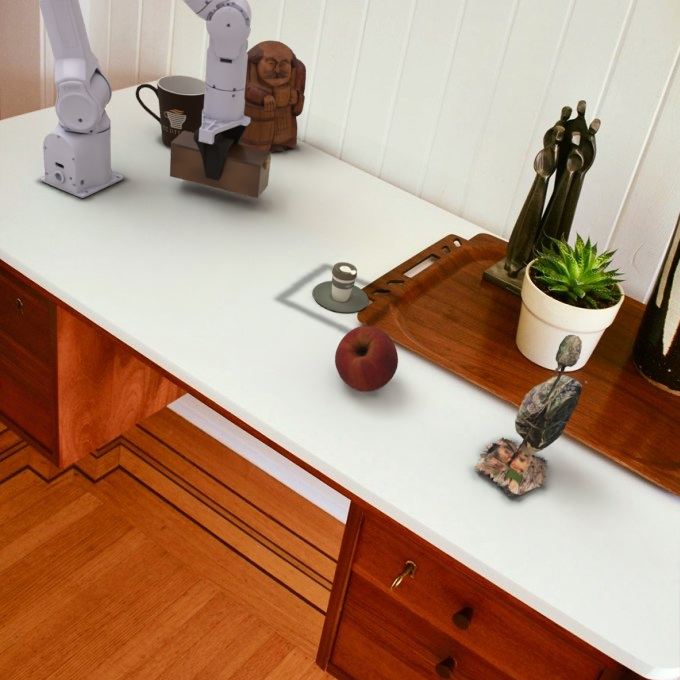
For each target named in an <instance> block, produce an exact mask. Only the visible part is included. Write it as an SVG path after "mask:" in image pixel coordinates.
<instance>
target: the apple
mask: <svg viewBox="0 0 680 680" xmlns="http://www.w3.org/2000/svg"><path fill="white" fill-rule="evenodd" d="M397 350H398V349H397V347H396V344H395V343H394V341H393V339H392V338H391V337H390V335H388V333H386V332H385V331H384V330H382V329H380V328H378V327H375V326H371V325H369V326H368V325H362V326H358V327H355V328H353V329H351V330H350V331H348V332H347V333H346V334H345V335H344V336H343V337H342V339H341V340H340V341H339V343H338V345H337V347H336V350H335V353H334V354H335V355H334V364H335V365H334V366H335V368H336V371H337V374H338V376H339V377H340V378H341V380H342V381H343V382H344V384H346V385H347V386H348V387H349V388H351V389H353V390H355V391H358V392H361V393H370V392H374V391H377V390H379V389H381V388H383V387H385V386H387V384H388V383H390V382H391V380H392V379H393V378H394V377H395V374H396V372H397V370H398V365H399V356H398V351H397Z"/></svg>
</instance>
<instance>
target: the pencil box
mask: <svg viewBox="0 0 680 680" xmlns="http://www.w3.org/2000/svg"><path fill="white" fill-rule="evenodd" d="M271 158H272V152H267V151H263V150H259V149H255V148H251V147H247V146H243V145H239V144H236V143H232V144H231V146H230V148H229V150H228V153H227V155H226V158H225V163H224V167H223V172H222V175H221V178H220V180H219V181H217V180H213V179H209V178H206V175H205V171H204V166H203V161H202V156H201V153H200V150H199V148H198V146H197V144H196V142H195V141H194V133H192V132H188V131H183V132H182V133H181V134H180V135H179V136H177V137H176V138H175V139H174V140H173V141H172V142H171V148H170V159H169V160H170V161H169V164H170V165H169V177H170V178H175V179H179V180H182V181H187V182H191V183H195V184H199V185H203V186H207V187H211V188H215V189H218V190H222V191H227V192H230V193H233V194H238V195H242V196H245V197H250V198H254V199H259V198H260V196H261V195H262V194H263V192H264V191H265V190H266V189H267V187H268V186H269V180H270V179H269V177H270V168H271Z"/></svg>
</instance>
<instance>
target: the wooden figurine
mask: <svg viewBox="0 0 680 680" xmlns="http://www.w3.org/2000/svg"><path fill="white" fill-rule="evenodd" d="M247 54H248V60H247V72H246V84H245V96H244V99H245V108H244V116H247V117H250V118H251V119H250V123H249V126H248V127H247V129H246V130H245V132H244V134H243V136H242V138H241V141H240V143H239V145H243V146H247V147H251V148H255V149H259V150H263V151H267V152H271V153H277V152H285V150H286V149H296V148H297V143H298V142H297V140H298V120H297V118H298V117H299V116H300V115H302V113H303V111H304V104H305V99H306V96H305V91H306V81H307V68H306V65H305V64H304V62H303V61H301V60H300V59H299V58H298V57H297V56H296V54H295V52H294V50H293V49H292V48H290V46H288V45H287V44H285V43H284V42H281V41H278V40H270V39H269V40H264V41H260V42H258V43H256V44H255V45H254V46H252V47H251V48H250V49H249V50H247Z"/></svg>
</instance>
